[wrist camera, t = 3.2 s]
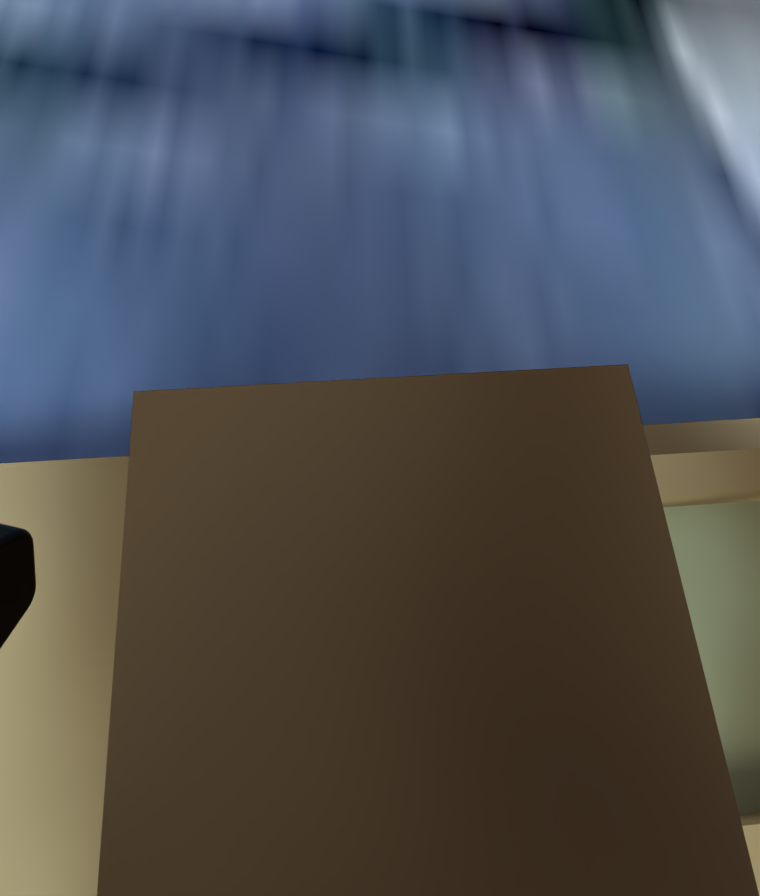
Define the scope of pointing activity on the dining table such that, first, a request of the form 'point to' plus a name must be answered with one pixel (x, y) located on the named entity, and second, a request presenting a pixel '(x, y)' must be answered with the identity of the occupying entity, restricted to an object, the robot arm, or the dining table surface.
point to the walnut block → (408, 649)
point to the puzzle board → (95, 620)
